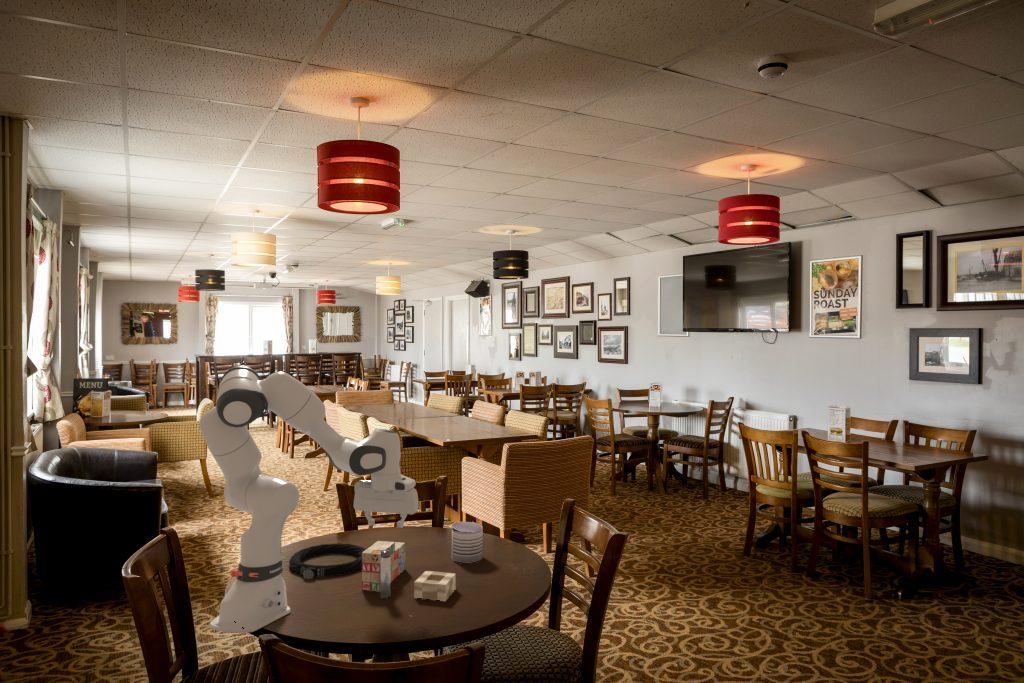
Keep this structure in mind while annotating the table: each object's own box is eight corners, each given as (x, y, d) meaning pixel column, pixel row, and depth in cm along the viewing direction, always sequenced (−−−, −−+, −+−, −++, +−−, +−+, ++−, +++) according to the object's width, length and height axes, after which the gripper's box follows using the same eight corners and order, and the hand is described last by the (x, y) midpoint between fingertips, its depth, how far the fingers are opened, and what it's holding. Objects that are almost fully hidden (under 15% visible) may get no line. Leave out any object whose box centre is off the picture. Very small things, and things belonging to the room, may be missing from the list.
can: (466, 551, 247) (466, 519, 247) (489, 558, 240) (489, 524, 240) (444, 559, 238) (444, 525, 238) (467, 566, 231) (467, 531, 231)
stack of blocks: (388, 568, 229) (388, 532, 229) (405, 569, 227) (405, 533, 227) (361, 591, 208) (361, 551, 208) (379, 592, 207) (380, 553, 207)
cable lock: (382, 544, 244) (347, 572, 214) (382, 554, 244) (347, 584, 214) (312, 539, 249) (269, 566, 219) (312, 549, 249) (269, 577, 219)
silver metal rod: (388, 599, 201) (388, 553, 201) (378, 598, 202) (378, 552, 202) (392, 595, 204) (392, 549, 204) (382, 594, 205) (383, 549, 205)
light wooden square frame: (445, 601, 200) (445, 584, 200) (414, 598, 202) (414, 581, 202) (455, 589, 210) (455, 573, 210) (425, 586, 212) (425, 570, 212)
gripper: (349, 481, 203) (349, 527, 203) (413, 485, 198) (412, 531, 198) (359, 477, 209) (359, 521, 209) (420, 481, 204) (420, 525, 204)
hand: (385, 526), depth 204 cm, fingers open, 8 cm apart
